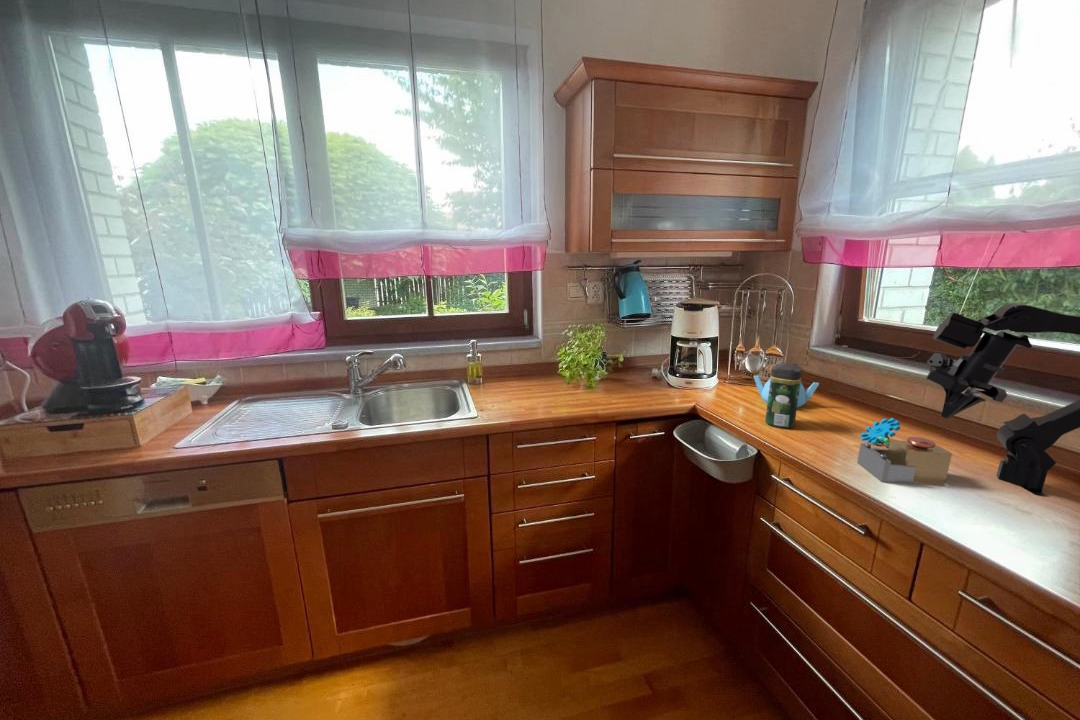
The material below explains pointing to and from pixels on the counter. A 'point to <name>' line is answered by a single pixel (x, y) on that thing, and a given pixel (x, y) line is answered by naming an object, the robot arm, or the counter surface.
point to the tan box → (921, 458)
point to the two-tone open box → (888, 467)
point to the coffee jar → (783, 395)
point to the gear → (881, 432)
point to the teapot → (803, 394)
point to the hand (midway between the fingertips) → (944, 417)
